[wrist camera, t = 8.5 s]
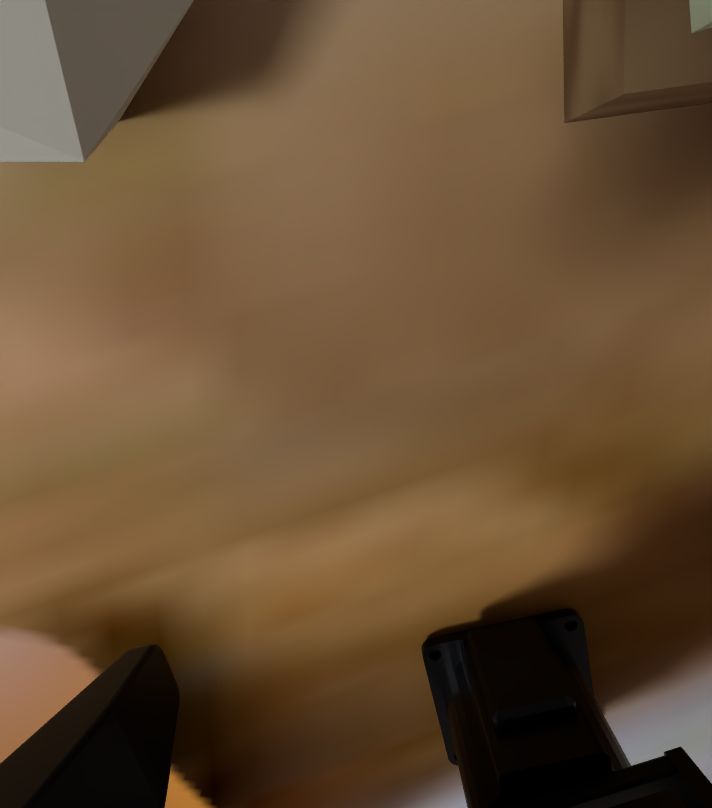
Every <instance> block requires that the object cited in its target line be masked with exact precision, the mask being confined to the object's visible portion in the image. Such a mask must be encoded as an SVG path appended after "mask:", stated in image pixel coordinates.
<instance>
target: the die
mask: <svg viewBox="0 0 712 808" xmlns="http://www.w3.org/2000/svg"><path fill="white" fill-rule="evenodd" d="M193 1H194V0H0V162H84V161H85V160H86V159H87V158H88V157H89V156H90V154H91V153H92V152H93V151H94V150H95V149H96V147H97V146H98V145H99V144H100V143H101V142H102V140H103V139H104V138H105V137H106V136H107V135H108V133H109V132H110V131H111V130H112V129H113V128H114V126H115V125H116V124H117V123H118V122H119V120H120V119H121V117H122V115H123V114H124V112H125V110H126V109H127V107H128V106H129V104H130V102H131V101H132V99H133V98H134V96H135V94H136V93H137V91H138V90H139V88H140V86H141V85H142V83H143V82H144V80H145V78H146V77H147V75H148V74H149V72H150V70H151V69H152V67H153V65H154V64H155V62H156V61H157V59H158V57H159V56H160V54H161V53H162V51H163V49H164V48H165V46H166V45H167V43H168V41H169V40H170V38H171V37H172V35H173V33H174V32H175V30H176V28H177V27H178V25H179V24H180V22H181V20H182V19H183V17H184V16H185V14H186V12H187V11H188V9H189V8H190V6H191V4H192V3H193Z"/></svg>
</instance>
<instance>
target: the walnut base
mask: <svg viewBox="0 0 712 808" xmlns="http://www.w3.org/2000/svg"><path fill="white" fill-rule="evenodd" d="M563 47H564V115H565V123H567V122H575V121H582V120H589V119H597V118H604V117H611V116H618V115H626V114H633V113H640V112H648V111H655V110H662V109H669V108H677V107H684V106H691V105H699V104H706V103H712V28H709V29H705V30H702V31H698V32H695V33H691V19H690V5H689V0H563Z"/></svg>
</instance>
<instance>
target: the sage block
mask: <svg viewBox="0 0 712 808" xmlns="http://www.w3.org/2000/svg"><path fill="white" fill-rule="evenodd" d="M689 5H690V19H691V33H695V32H698V31H702V30H705V29H709V28H712V0H689Z"/></svg>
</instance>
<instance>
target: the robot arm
mask: <svg viewBox="0 0 712 808" xmlns="http://www.w3.org/2000/svg"><path fill="white" fill-rule="evenodd" d="M570 620H573V621H572V622H571V623H570V624H566V622H568V621H570ZM433 650H438V652H436V653H430V652H431V651H433ZM422 655H423V659H424V663H425V667H426V671H427V675H428V679H429V683H430V687H431V691H432V695H433V699H434V703H435V707H436V711H437V715H438V719H439V723H440V727H441V731H442V735H443V739H444V743H445V747H446V751H447V755H448V759H449V761H450V762H451V763H452V764H454V765H458V766H459V771H460V775H461V780H462V784H463V789H464V794H465V798H466V803H467V807H468V808H712V784H711V783H710V781H709V780H708V779H707V778H706V776H705V775H704V774H703V773H702V772H701V770H700V769H699V768H698V767H697V765H696V764H695V763H694V762H693V761H692V759H691V758H690V757H689V756H688V754H687V753H686V752H685V751H684V750H683V748H682V747H678V748H675V749H672V750H669V751H666V752H664V755H665V756H662V757H658V758H655V759H652V760H649V761H646V762H642V763H639V764H636V765H633V766H631V765H630V763H629V761H628V759H627V757H626V755H625V754H624V752H623V750H622V748H621V746H620V744H619V743H618V741H617V739H616V737H615V735H614V733H613V732H612V730H611V728H610V726H609V724H608V722H607V721H606V719H605V717H604V715H603V713H602V711H601V709H600V708H599V706H598V704H597V702H596V700H595V698H594V695H593V688H592V680H591V673H590V666H589V659H588V652H587V645H586V638H585V631H584V624H583V621H582V619H581V617H580V616H579V614H578V613H577V612H576V611H575V610H573V609H563V610H558V611H554V612H549V613H545V614H540V615H535V616H531V617H526V618H522V619H517V620H512V621H508V622H503V623H499V624H494V625H489V626H485V627H480V628H476V629H471V630H467V631H462V632H457V633H453V634H448V635H444V636H439V637H434V638H430V639H428V640H426V641H425V642H424V643H423V645H422ZM179 706H180V691H179V687H178V684H177V681H176V679H175V676H174V674H173V672H172V669H171V667H170V665H169V662H168V660H167V657H166V655H165V653H164V651H163V649H162V647H161V646H160V645H158V644H156V643H152V644H148V645H143V646H138V647H134V648H131V649H129V650H128V651H126V652H125V653H124V654H123V655H122V656H121V657H120V658H119V659H117V660H116V661H115V662H114V663H113V664H112V665H111V666H110V667H108V668H107V669H106V670H105V671H104V672H103V673H102V674H101V675H99V676H98V677H97V678H96V679H95V680H94V681H93V682H92V683H91V684H89V685H88V686H87V687H86V688H85V689H84V690H83V691H81V692H80V693H79V694H78V695H77V696H76V697H75V698H74V699H73V700H71V701H70V702H69V703H68V704H67V705H66V706H65V707H63V708H62V709H61V710H60V711H59V712H58V713H57V714H56V715H55V716H54V717H52V718H51V719H50V720H49V721H48V722H47V723H46V724H44V725H43V726H42V727H41V728H40V729H39V730H38V731H37V732H36V733H34V734H33V735H32V736H31V737H30V738H29V739H28V740H27V741H25V742H24V743H23V744H22V745H21V746H20V747H19V748H17V749H16V750H15V751H14V752H13V753H12V754H11V755H10V756H8V757H7V758H6V759H5V760H4V761H3V762H2V763H1V764H0V808H164V807H165V801H166V795H167V789H168V782H169V775H170V768H171V761H172V754H173V747H174V740H175V733H176V726H177V720H178V713H179Z"/></svg>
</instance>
